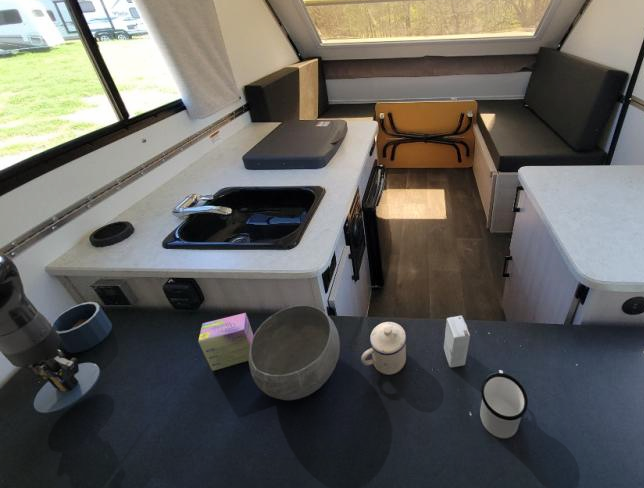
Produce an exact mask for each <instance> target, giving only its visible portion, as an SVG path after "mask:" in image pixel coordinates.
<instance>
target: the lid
mask: <svg viewBox="0 0 644 488" xmlns="http://www.w3.org/2000/svg"><path fill="white" fill-rule="evenodd" d="M78 367H79V372H78V373H77V374H75V375H74V376H75V378H76V379H77V380H78V384H77V385H76V386H75V387H74V388H73V389H72V390H71V391H66V390H65V388H64V387H63V386H62V385H61V384H60V383H59V382H58V380H56V379H55V378H53V377H50V378H51V380H52V381H53V382H54V383H55V384H56V385H57V386H58V388H59V389H55V388H54V387H53V386H52V384H51V383H50V382H49V381H48V380H47V382H46V383H45V384H44V385H43V386H42V387H41V388H40V390H39V391H38V392H37V393H36V395H35V398H34V400H33V408H34V410H35V411H36V412H37V413H39V414H42V415H51V414H55V413H58V412H62V411H64V410H65V409H68V408H70V407H71V406H74V405H75V404H76V403H78V402H79V401H80V400H82V399H83V398H84V397H86V396H87V395H88V394H89V393H90V392H91V391H92V390H93V388H94V387H95V386H96V385H97V383H98V381H99V379H100V378H101V377H100V376H101V369H100V367H99V365H97V364H96V363H93V362H83V363H78ZM61 375H62V372H61V373H60V376H61Z"/></svg>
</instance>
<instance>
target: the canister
mask: <svg viewBox="0 0 644 488" xmlns="http://www.w3.org/2000/svg"><path fill="white" fill-rule="evenodd" d="M80 319H88V320H87V321H86V322H85V323H83V324H81V325H79V326H78V327H75V328H73V329H71V328H72V327H73V326H74V325H75V324H76V323H77V322H78V321H79V320H80ZM50 324H51V326H52V327H53V328H54V329H55V331H56V332H57V333H58V335H59V336H60V338H61V342H60V344H59V345H60V346H62V348H63V349H64V351H66V353H70V354H78V353H82V352H84V351H87V350H90V349H92V348H94V347H95V346H97V345H98V344H100V343H102V341H104V339H106V338H107V337H109V334H110V333H111V332H112V329H113V323H112V322H111V321H110V319H109V318H108V316H107V314H106V313H105V311H104V310H103V309H102V307H101V306H100V304H98V303H97V302H94V301H88V302H82V303H78V304H76V305H73V306H71V307H70V308H68V309H66V310H64V311H62V312H61V313H60V314H58V315H57V316H56V317H55V318H53V320H52V321H51V323H50Z"/></svg>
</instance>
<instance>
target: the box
mask: <svg viewBox="0 0 644 488" xmlns="http://www.w3.org/2000/svg"><path fill="white" fill-rule="evenodd" d="M254 335H255V334H254V333H253V330H252V327H251V324H250V321H249V317H248V315H247V312H243V313H239V314H235V315H231V316H226V317H223V318H218V319H215V320H211V321H206V322H203V323H202V324H201V328H200V333H199V337H198V341H197V342H198V344H199V346H200V349H201V351H202V353H203V355H204V358H205V359H206V362H207V363H208V366H209V368H210V369H211V371H212V372H214V371H217V370H221V369H224V368H228V367H231V366H234V365H238V364H241V363H245V362H249V350H250V345H251V342H252V339H253V337H254Z"/></svg>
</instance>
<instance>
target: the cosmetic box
mask: <svg viewBox="0 0 644 488" xmlns="http://www.w3.org/2000/svg"><path fill="white" fill-rule="evenodd" d="M469 331H470V330H469V329H468V325H467V323H466V321H465V319H464V317H463V315H457V316H456V315H455V316H450V317H446V323H445V332H444V340H443V341H444V342H443V351H444V354H445V358H446V361H447V364H448V366H449V367H450V368H457V367H462V366H466V361H467V357H468V350H469V345H470V338H471V334H470V332H469Z"/></svg>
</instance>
